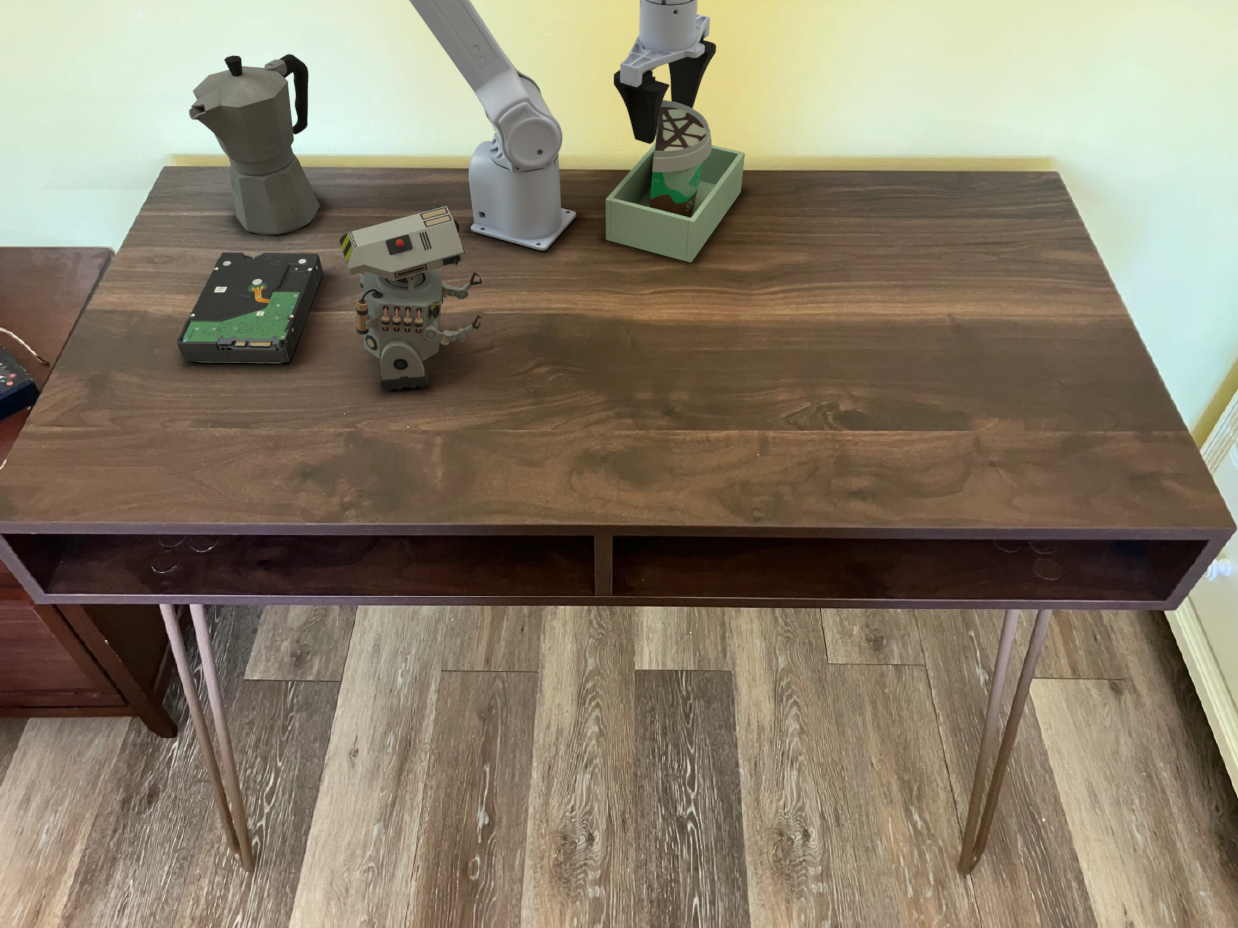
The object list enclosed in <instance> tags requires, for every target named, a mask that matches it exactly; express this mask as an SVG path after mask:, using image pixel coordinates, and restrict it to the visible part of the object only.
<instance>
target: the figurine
mask: <svg viewBox="0 0 1238 928" xmlns="http://www.w3.org/2000/svg"><path fill="white" fill-rule="evenodd" d="M460 228H461V227H460V224H459V222H458V221H457V220H456V219H454V218H453V216H452V214H451V211H450V210H449V209H448V205H445V206H441V205H440V204H434V205H433V206H430V207H427V208H426V209H424V210H423V212H418V213H415V214H412V215H411V214H410V215H407V216H403V217H400V218H396V219H393V220H389V221H385V222H382V223H378V224H374V225H370V226H367V227H364V228H359V229H356V230H352V231H349V232H346V233H345V234H344V235H342V236H341V237H340V238H338V239H337V240H338V243H339V246H340V248H341V252H342V254H343V257H344V261H345V264H346V266H347V268H348V271H349V273H350V276H355V275H358V274H359V287H360V288H361V289H362V297H361V298H358V299H357V300H356V307H355V312H356V315H355V323H356V330H355V331H356V333H357V334H359V335H360V336H361V335H362V336H363V349H365V350H366V351H368V352H369V354H370V353H371V354H372V355H373V356H374V357H376V358H378V359H379V360H380V390H387V391H389V392H391V391H393V390H394V389H395V390H397V391H401V390H402V389H403V388H410V389H412V390H413V389H414V390H415V389H417V387H419V388H420V389H424V388H426V386H429V385H430V383H429V382H430V380H429V379H430V377H429V374H428V371H427V369H426V368H425V367H424V364H423V362H424V361H425V360H427V359H429V358H431V357H432V356H434V355H435V354H437V353H439V350H440V345H443V346H449V345H450V342H451V343H453V342H456V341H458V342H460V343H461V342H464V341H465V340H466V339H467V337H468V333H470V332H471V331H473V329H475V330H479V329H480V326H481V321H479V319H482V316H480V315H479V314H478V315H477V316H476V317H475V318H474V321H473V322H471V323H470V324H468V325H467V326H465V327H464V326H462V325H460V326H458V327H457V328H456V329H455V330H450V329H449V330H448V329H444V330H443V331H441V318H442V317H441V315H442V305H444V299H447V297H450V298H451V297H455V298H456V299H458V300H465V299H467V298H468V297H469V290H470V289H471V288H472V287H473V286H476V285H482V284H483V282H482V278H481V275H480V274H478V273H477V272H475V271H474V272H473V273H472V275H471V277H470V280H469V281H468V282H467V283H466V284H464V285H457V286H453V285H450V284H449V283H446V282H445V283H442V282H443V281H442V279H443V278H442V271H441V270H439V269H440V268H444V267H447V266H451V265H455V266H456V267H457V266H458V265H459V263H461V262H464V261H466V259H465V258H466V257H465V254H466V252H465V251H466V250H465V248H464V245H462V241H461V239H460V235H459V232H460ZM475 276H477V277H479V281H475ZM478 321H479V323H478ZM477 323H478V324H477Z"/></svg>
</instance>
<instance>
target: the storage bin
mask: <svg viewBox="0 0 1238 928" xmlns="http://www.w3.org/2000/svg"><path fill="white" fill-rule="evenodd" d="M654 151H655V143H653V144H652V146H651V147H650V148H649V149H648V150H647V152H645V154H644V155H643V156H642V157H641V158H640V159H639V160H638V162H637V163H636V164H635V165H634V166H633V167H632V169H631V170H630V171H629V172H628V173H627V174H626V175H625V177H623V179H622V180H621V181H620V182H619V184H618V185H617V186H616V187H615V188H614V189H613V190H612V192H610V194H609V195H607V197H606V198H605V240H606V241H608V242H613V243H616V244H620V245H622V246H623V245H624V246H627V247H631V248H635V249H639V250H643V251H646V252H650V253H654V254H658V255H661V256H664V257H668V258H671V259H675V260H679V261H683V262H687V263H692V262H693V261H694V259H695V258H696V257H697V255H698V254H699V252H700V251H701V249H702V248H703V247H704V245H705V244H706V242H707V241H708V240H709V238H710V237H711V235H712V234H713V232H714V231H715V230H716V228H717V227H718V225H719V224H720V222H721V221H722V220H723V218H724V217H725V215H726V214H727V212H728V211H729V209H731V206H732V205H733V204H734V203H735V201H736V200H737V198H738V197H739V195H740V194H741V192H742V184H743V175H744V165H745V157H746V152H744V151H740V150H735V149H731V148H726V147H722V146H718V145H713V144H712V150H711V153H710V155H709V156H708V157H707V158H706V159H705V160H704V161H703V165H702V170H701V175H700V180H699V184H698V189H697V194H696V199H695V204H694V209H693V214H692V216H691V217H690V218H689V217H685V216H682V215H678V214H674V213H670V212H666V211H662V210H658V209H654V208H650V195H651V183H652V170H653V158H654Z"/></svg>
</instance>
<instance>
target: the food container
mask: <svg viewBox="0 0 1238 928" xmlns="http://www.w3.org/2000/svg"><path fill="white" fill-rule="evenodd" d="M654 144H655V151H654V158H653V170H652V183H651V195H650V208H654V209H658V210H662V211H666V212H670V213H674V214H678V215H682V216H685V217H689V218H690V217H691V216H692V214H693V209H694V204H695V199H696V194H697V189H698V184H699V180H700V175H701V170H702V165H703V161H704V160H705V159H706V158H707V157H708V156H709V155H710V153H711V150H712V145H713V143H712V132H711V129H710V127H709V123H708V121H707V119H706V118H705V116H704V115H702V113H700V112H699V111H698V110H697V109H694V108H690V107H688V106H686V105H683V104H680V103H676V102H672V101H671V100H666V99H663V101H662V104H661V108H660V112H659V117H658V125H657V132H656V136H655V141H654Z"/></svg>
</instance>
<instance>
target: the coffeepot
mask: <svg viewBox="0 0 1238 928" xmlns="http://www.w3.org/2000/svg"><path fill="white" fill-rule="evenodd" d="M223 60H224V63H225V64H226V66H227V69H226V70H223V71H219V72H215V73H210V74H208V75H207V76H206V77H205V78H204V79H203V80H202V81H201V82H200V83H199V84H198V85H197V86H196V87H195V88H194V89H193V90H192V93H193V95H194V97H195V99H196V100H195V101H194V103H193V104H192V105H191V106H190V107H191V108H190V109H188V116H189V118H190V119H191V120H194V121H198V122H200V123H201V124H202V125H204V126H205V127H206V128H207V129H208V130H209V131H211V133H213V135H214V137H215V138H216V140H217V142H218V145H219V146H220V148H221V150H222V151H223V152H224V154H225V155H226V156H227V158H228V160H229V163H230V164H229V165H230V166H229V167H228V168H229V175H230V182H231V190H232V196H233V204H234V211H235V217H236V219H237V220H238V222H239V223H240V224H241V226H242V227H243V229H245V230H246V231H247V232H250V233H253V234H256V235H261V236H277V235H278V236H279V235H280V236H281V235H284V234H289V233H293V232H296V231H299V230H300V229H302V228H304V227H306V226H307V225H309V224H310V223H311V222H312V221H313V220H314V219H315V218H316V216H317V214H318V210H320V207H321V205H320V203H319V201H318V198H317V196H316V195H315V192H314V190H313V188H312V186H311V184H310V182H309V179H308V177H307V175H306V172H305V170H304V169H303V166H302V165H301V162H300V160H299V159H298V157H297V156H296V154H295V152H294V150H293V147H292V145H293V143H294V141H295V135H298V134H300V133H301V132H303V131H305V130H306V129H307V128H308V126H309V123H308V122H309V121H308V120H309V119H308V118H309V77H310V75H309V69H308V68H309V67H308V66H307V65H306V63H305V62H304V61H302V60H301V59H299V58H298V57H297V56H295V55H294V54H292V53H287V54H285V55H284V56H282V57H280V58H278V59H276V58H275V59H273V60H271V61H269V62H267V63H265V64H264V67H260V66H259V67H258V66H246V65H245V66H244V65H243V62H242V57H241V56H240V55H230V56H229V55H228V56H226V57H225V58H224V59H223ZM291 74H293V86H294V93H295V94H294V95H295V97H294V98H295V99H294V109H295V114H296V117H297V119H296V122H295V124H293V117H292V108H291V98H290V90H289V89H290V88H289V80H288V79H286V78H287V77H288V76H289V75H291Z"/></svg>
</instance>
